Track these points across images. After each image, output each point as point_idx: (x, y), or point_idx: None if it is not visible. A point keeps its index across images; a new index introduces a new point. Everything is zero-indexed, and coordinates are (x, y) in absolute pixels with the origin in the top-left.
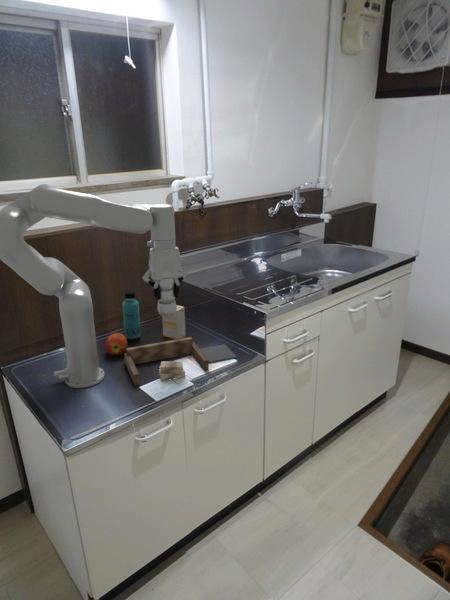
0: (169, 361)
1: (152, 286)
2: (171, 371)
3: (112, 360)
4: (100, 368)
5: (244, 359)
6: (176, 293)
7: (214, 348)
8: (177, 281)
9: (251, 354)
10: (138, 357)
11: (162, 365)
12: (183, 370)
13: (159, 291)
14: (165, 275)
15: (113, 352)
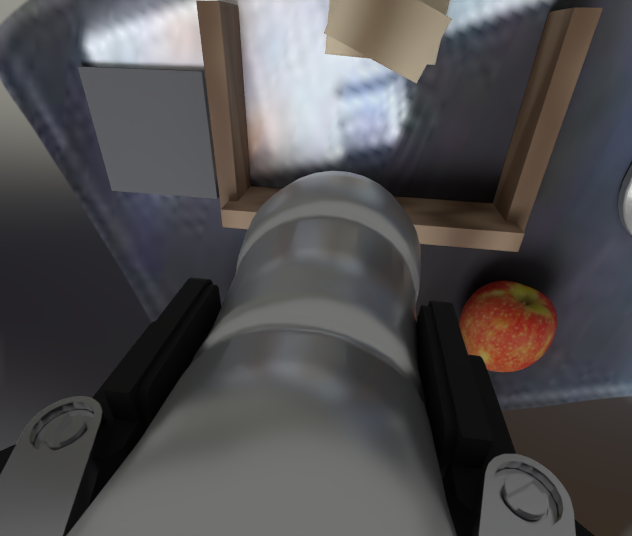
0: (383, 61)
1: (579, 527)
2: None
3: (532, 265)
4: (627, 211)
5: (51, 36)
6: (181, 307)
7: (155, 175)
8: (28, 480)
9: (18, 68)
10: (464, 211)
11: (433, 31)
12: (333, 2)
13: (421, 398)
14: None
15: (531, 288)
